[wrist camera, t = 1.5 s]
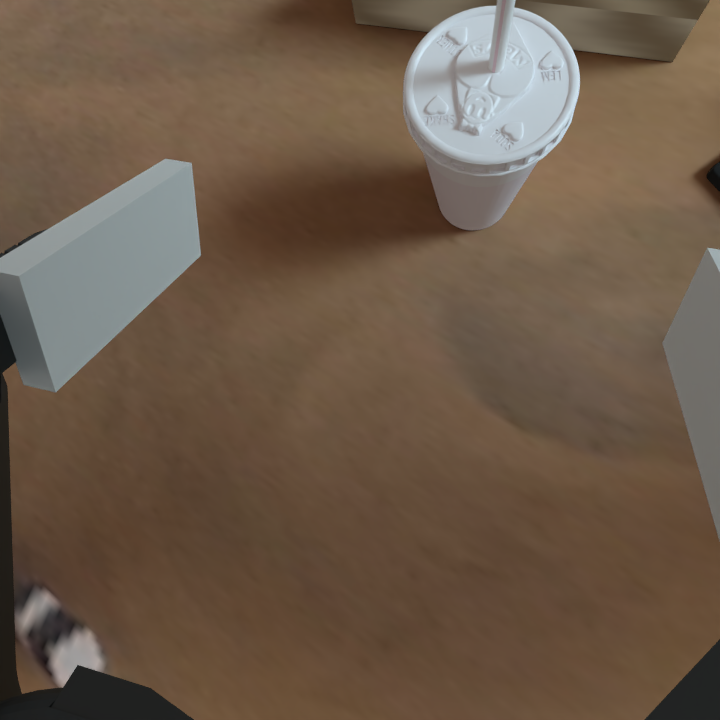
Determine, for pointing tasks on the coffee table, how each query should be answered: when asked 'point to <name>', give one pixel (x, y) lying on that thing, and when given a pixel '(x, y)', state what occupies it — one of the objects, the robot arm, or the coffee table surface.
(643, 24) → the tray
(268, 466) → the coffee table surface
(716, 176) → the handheld gaming console
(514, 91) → the smoothie
